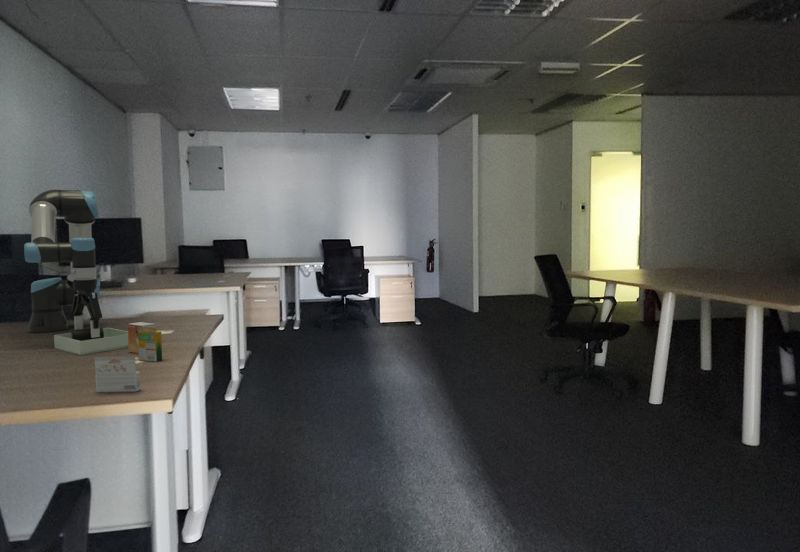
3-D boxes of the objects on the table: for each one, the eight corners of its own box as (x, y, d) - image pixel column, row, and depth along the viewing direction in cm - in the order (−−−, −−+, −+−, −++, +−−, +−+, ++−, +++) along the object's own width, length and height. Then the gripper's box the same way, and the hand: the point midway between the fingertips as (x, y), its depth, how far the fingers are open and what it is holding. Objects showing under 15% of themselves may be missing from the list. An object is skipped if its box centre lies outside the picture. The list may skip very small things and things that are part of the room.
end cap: (73, 349, 191) (72, 331, 190) (70, 346, 196) (69, 328, 196) (104, 345, 197) (103, 328, 197) (100, 343, 202) (99, 325, 202)
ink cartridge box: (100, 389, 143) (98, 354, 142) (141, 389, 143) (139, 354, 142) (95, 392, 140) (93, 356, 139) (137, 392, 140) (135, 356, 140)
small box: (128, 352, 190) (127, 323, 189) (142, 349, 194) (141, 321, 194) (142, 354, 186) (141, 325, 185) (156, 351, 191) (155, 323, 190)
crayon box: (162, 359, 178) (161, 326, 177) (156, 361, 175) (155, 327, 174) (144, 358, 180) (143, 325, 179) (138, 360, 177) (137, 326, 176)
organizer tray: (54, 347, 197) (53, 334, 197) (109, 339, 213) (108, 327, 213) (80, 355, 184) (79, 341, 184) (136, 346, 200) (136, 333, 200)
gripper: (59, 277, 199) (62, 332, 201) (89, 281, 184) (91, 340, 186) (80, 276, 205) (83, 329, 207) (111, 280, 190) (113, 337, 192)
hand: (87, 335), depth 196 cm, fingers open, 13 cm apart
